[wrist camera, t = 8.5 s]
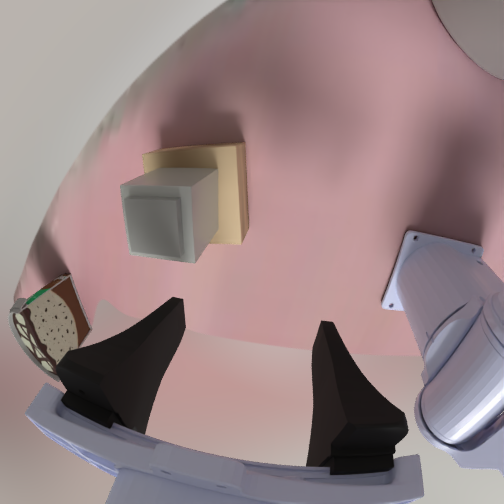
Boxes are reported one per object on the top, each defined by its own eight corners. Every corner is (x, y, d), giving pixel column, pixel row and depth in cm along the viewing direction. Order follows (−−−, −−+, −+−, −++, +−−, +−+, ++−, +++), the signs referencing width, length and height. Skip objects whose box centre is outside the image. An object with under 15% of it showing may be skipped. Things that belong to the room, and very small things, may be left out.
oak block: (245, 142, 20) (236, 146, 17) (249, 226, 23) (241, 244, 20) (163, 148, 21) (142, 154, 18) (172, 225, 24) (155, 241, 21)
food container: (40, 259, 30) (-7, 298, 21) (67, 263, 29) (15, 309, 20) (68, 327, 35) (33, 369, 26) (95, 336, 34) (60, 384, 26)
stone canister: (218, 168, 18) (186, 189, 13) (218, 229, 20) (191, 268, 15) (159, 167, 18) (114, 188, 13) (163, 224, 20) (124, 259, 15)
